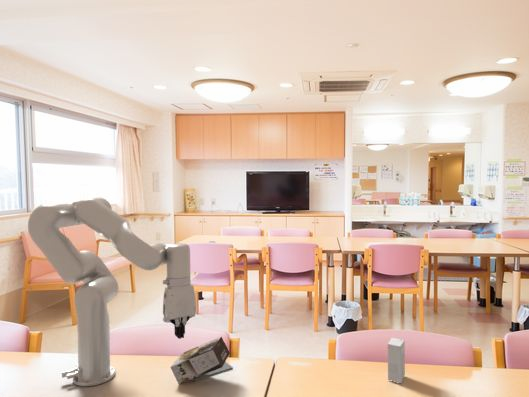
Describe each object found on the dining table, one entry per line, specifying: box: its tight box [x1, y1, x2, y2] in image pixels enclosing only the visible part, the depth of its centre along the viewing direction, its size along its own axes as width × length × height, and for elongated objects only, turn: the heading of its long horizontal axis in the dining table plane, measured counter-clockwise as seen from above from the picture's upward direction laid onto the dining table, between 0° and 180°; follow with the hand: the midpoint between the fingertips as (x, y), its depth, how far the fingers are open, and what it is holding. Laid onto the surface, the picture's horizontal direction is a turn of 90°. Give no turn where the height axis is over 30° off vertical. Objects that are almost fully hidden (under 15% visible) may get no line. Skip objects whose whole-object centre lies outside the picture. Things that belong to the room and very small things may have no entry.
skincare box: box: [387, 337, 406, 384], centre depth 119 cm, size 6×4×12 cm
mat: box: [192, 361, 234, 382], centre depth 127 cm, size 14×12×1 cm
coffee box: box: [170, 336, 231, 385], centre depth 119 cm, size 9×6×16 cm
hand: (179, 336), depth 122 cm, fingers closed
